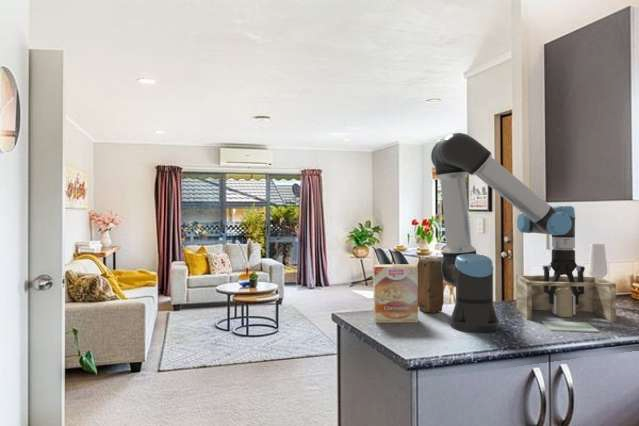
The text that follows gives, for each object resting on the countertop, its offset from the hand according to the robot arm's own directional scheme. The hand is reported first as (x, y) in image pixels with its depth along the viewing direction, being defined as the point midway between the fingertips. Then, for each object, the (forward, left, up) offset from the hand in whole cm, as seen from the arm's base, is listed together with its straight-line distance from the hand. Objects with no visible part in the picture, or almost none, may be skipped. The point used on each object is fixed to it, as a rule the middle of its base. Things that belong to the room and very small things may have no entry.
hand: (563, 313), depth 170 cm
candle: (0, 0, -1) cm, 1 cm away
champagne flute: (+19, +23, -1) cm, 30 cm away
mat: (-3, -17, -1) cm, 17 cm away
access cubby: (0, +1, -1) cm, 1 cm away
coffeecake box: (-59, -16, -1) cm, 61 cm away
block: (-47, +1, -1) cm, 47 cm away
